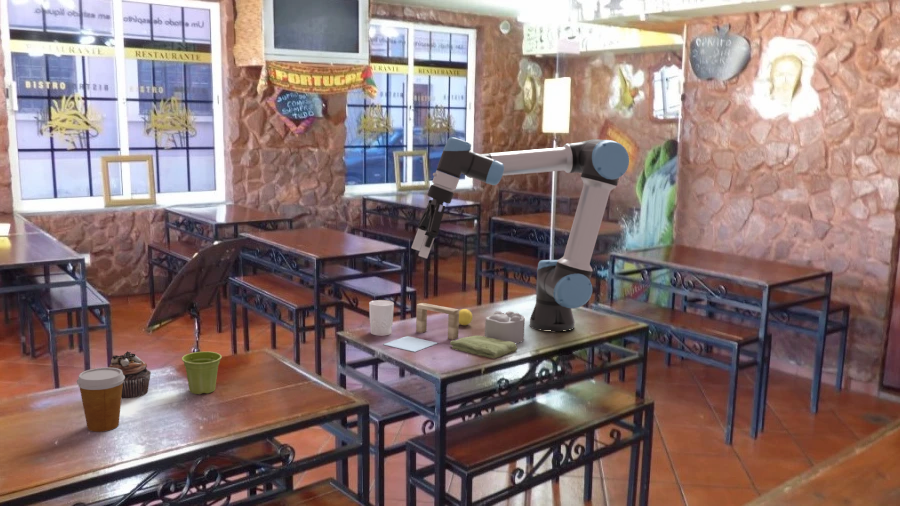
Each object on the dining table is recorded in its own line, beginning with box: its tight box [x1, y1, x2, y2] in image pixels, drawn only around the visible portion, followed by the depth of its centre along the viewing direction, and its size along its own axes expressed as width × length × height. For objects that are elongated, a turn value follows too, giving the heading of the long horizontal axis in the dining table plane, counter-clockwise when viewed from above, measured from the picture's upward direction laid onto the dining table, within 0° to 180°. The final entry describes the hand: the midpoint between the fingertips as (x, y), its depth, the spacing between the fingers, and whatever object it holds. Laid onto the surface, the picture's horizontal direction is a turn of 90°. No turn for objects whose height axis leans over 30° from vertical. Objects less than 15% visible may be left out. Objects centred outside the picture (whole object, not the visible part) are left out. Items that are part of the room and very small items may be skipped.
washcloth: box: [449, 335, 518, 359], centre depth 237 cm, size 13×18×3 cm
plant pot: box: [181, 351, 223, 395], centre depth 194 cm, size 9×9×9 cm
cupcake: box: [108, 351, 152, 400], centre depth 190 cm, size 10×10×10 cm
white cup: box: [368, 299, 395, 337], centre depth 251 cm, size 8×8×10 cm
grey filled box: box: [484, 310, 526, 344], centre depth 248 cm, size 10×13×9 cm
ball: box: [459, 308, 473, 326], centre depth 264 cm, size 6×6×6 cm
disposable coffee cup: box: [76, 366, 125, 433], centre depth 169 cm, size 10×10×12 cm
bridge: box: [415, 302, 460, 341], centre depth 251 cm, size 3×14×9 cm, turn 56°
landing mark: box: [382, 335, 439, 353], centre depth 240 cm, size 12×12×1 cm
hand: (418, 253), depth 239 cm, fingers open, 13 cm apart
